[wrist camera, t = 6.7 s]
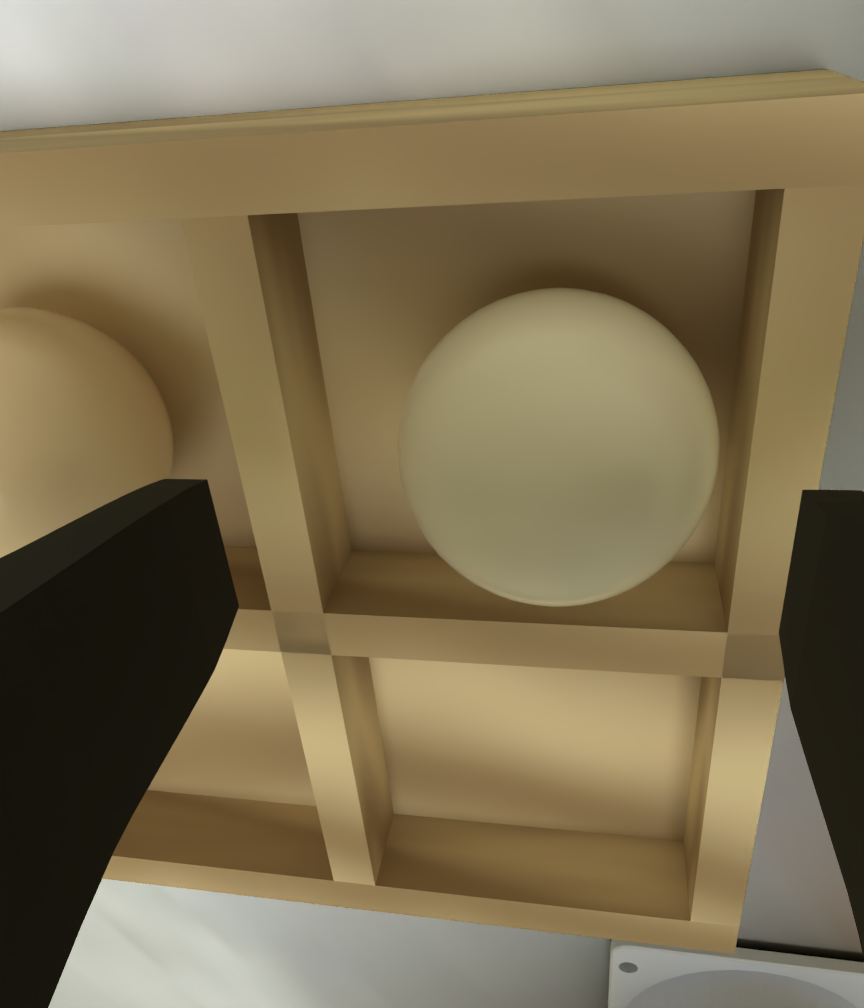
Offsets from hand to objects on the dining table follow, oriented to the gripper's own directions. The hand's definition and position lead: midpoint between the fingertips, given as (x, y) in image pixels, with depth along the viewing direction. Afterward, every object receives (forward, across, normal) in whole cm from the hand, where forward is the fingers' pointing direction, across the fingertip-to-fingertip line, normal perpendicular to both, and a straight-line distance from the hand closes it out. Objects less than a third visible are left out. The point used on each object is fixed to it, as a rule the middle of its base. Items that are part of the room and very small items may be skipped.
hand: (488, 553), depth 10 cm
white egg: (+5, 0, 0) cm, 5 cm away
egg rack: (+6, +4, +4) cm, 8 cm away
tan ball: (+5, +8, 0) cm, 9 cm away
